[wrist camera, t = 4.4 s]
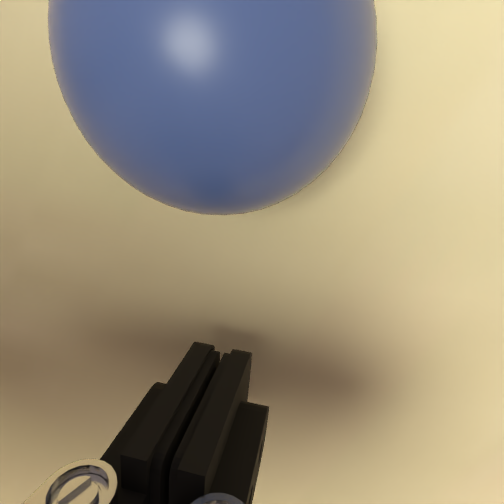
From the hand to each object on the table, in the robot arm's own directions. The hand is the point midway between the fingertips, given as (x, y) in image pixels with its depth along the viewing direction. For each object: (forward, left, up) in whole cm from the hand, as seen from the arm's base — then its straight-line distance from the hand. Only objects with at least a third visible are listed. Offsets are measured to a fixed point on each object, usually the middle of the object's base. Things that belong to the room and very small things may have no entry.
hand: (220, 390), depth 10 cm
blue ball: (+6, +6, +1) cm, 8 cm away
